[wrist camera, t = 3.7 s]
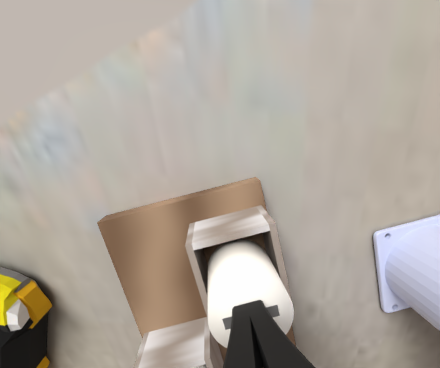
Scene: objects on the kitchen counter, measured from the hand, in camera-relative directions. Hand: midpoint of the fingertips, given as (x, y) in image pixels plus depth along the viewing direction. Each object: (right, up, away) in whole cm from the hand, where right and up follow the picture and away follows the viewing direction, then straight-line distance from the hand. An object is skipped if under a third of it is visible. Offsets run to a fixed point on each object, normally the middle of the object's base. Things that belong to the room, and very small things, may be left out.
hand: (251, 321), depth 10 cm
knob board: (-2, -3, +9) cm, 10 cm away
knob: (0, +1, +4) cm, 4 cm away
